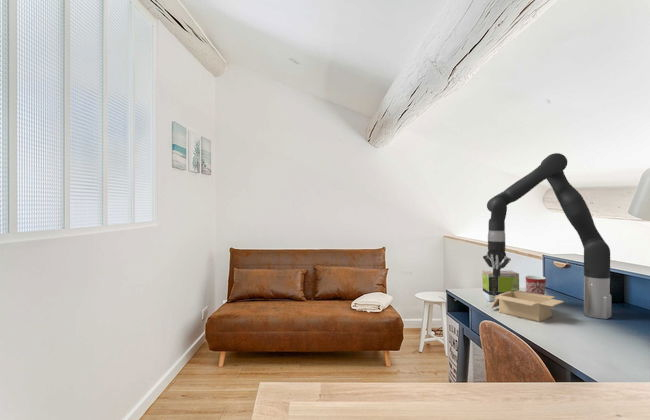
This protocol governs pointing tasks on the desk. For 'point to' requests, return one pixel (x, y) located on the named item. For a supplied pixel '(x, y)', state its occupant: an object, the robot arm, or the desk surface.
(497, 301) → the flap
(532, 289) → the mug
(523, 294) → the carton
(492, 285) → the tea box
